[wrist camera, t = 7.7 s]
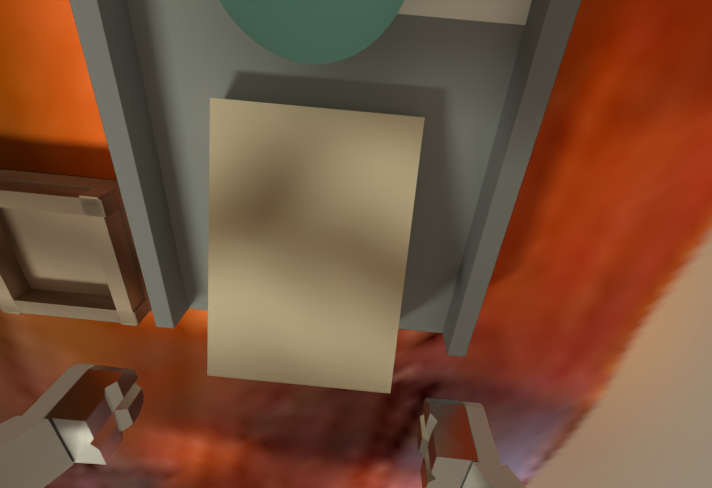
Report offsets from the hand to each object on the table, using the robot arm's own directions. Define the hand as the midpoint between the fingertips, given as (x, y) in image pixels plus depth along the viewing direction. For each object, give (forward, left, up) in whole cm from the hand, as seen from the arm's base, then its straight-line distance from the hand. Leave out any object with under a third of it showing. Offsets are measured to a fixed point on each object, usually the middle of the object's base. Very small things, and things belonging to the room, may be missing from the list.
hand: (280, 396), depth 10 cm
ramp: (+2, 0, -7) cm, 7 cm away
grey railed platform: (+4, 0, -8) cm, 9 cm away
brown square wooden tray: (-1, +12, -8) cm, 15 cm away
